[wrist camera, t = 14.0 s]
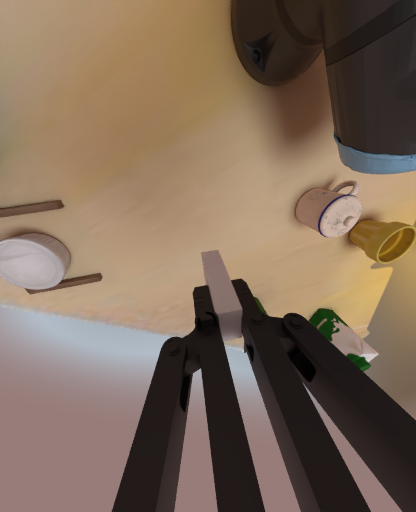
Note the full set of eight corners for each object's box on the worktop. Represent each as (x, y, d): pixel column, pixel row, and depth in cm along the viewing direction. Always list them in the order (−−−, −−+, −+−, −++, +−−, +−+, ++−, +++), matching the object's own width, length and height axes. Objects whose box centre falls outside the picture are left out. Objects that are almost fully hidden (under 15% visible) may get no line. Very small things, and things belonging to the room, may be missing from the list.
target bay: (-32, 212, 31) (-40, 215, 30) (60, 200, 32) (56, 202, 31) (34, 289, 41) (30, 294, 39) (102, 277, 42) (100, 280, 41)
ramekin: (28, 216, 33) (6, 226, 29) (86, 251, 39) (76, 265, 34) (-1, 253, 35) (-25, 268, 31) (58, 282, 41) (44, 298, 37)
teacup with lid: (308, 229, 47) (345, 250, 37) (286, 213, 43) (321, 232, 33) (344, 188, 43) (396, 200, 33) (323, 166, 39) (375, 172, 29)
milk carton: (318, 306, 66) (370, 359, 49) (335, 308, 69) (389, 359, 52) (305, 322, 70) (349, 376, 53) (322, 323, 73) (368, 375, 56)
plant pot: (383, 210, 48) (427, 222, 40) (369, 243, 54) (405, 260, 46) (350, 216, 47) (388, 230, 39) (338, 249, 53) (370, 267, 44)
